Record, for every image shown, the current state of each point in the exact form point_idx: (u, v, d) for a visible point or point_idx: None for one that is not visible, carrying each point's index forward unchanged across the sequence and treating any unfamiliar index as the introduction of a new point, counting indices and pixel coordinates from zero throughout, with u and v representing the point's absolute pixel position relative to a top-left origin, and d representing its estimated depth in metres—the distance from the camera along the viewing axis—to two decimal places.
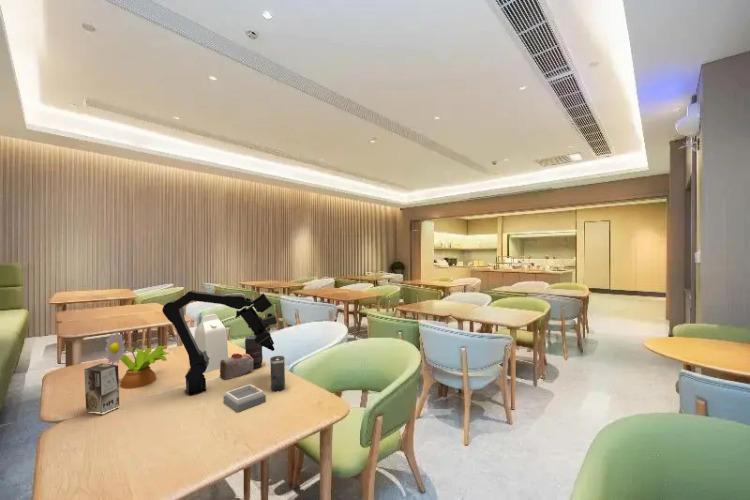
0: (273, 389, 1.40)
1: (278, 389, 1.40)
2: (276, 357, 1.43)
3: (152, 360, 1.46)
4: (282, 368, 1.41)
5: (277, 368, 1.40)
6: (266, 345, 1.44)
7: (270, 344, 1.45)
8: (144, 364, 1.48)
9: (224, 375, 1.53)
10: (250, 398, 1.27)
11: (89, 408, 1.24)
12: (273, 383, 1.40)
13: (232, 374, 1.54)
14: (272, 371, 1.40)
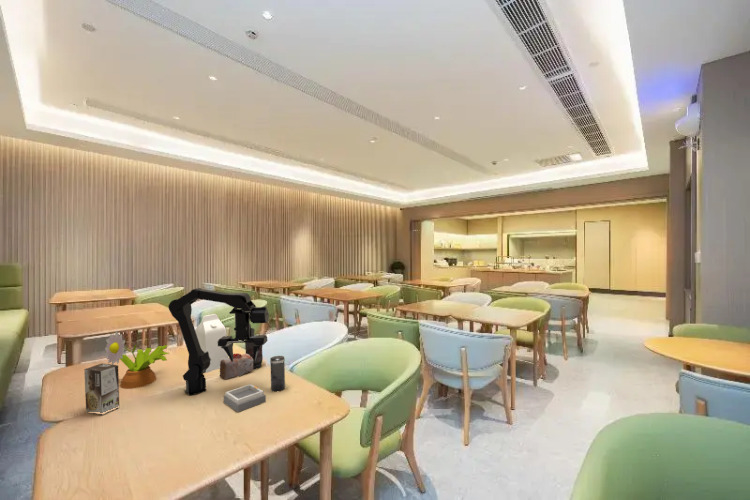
0: (273, 389, 1.40)
1: (278, 389, 1.40)
2: (276, 357, 1.43)
3: (152, 360, 1.46)
4: (282, 368, 1.41)
5: (277, 368, 1.40)
6: (256, 351, 1.41)
7: (257, 352, 1.42)
8: (144, 364, 1.48)
9: (224, 375, 1.53)
10: (250, 398, 1.27)
11: (90, 408, 1.24)
12: (273, 383, 1.40)
13: (232, 374, 1.54)
14: (272, 371, 1.40)
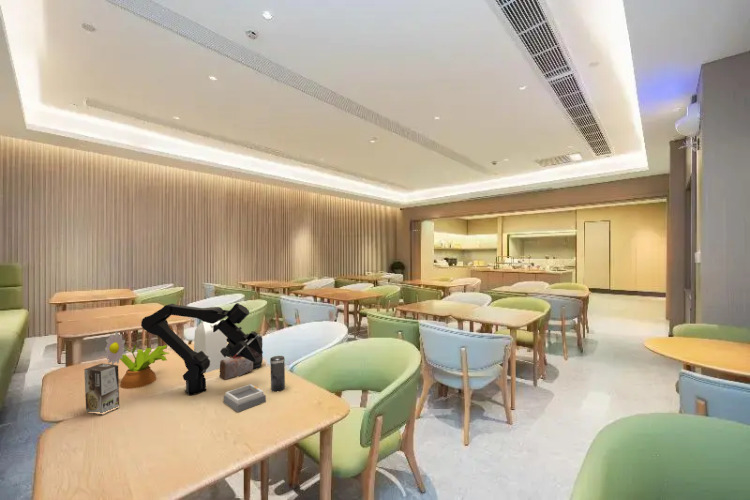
0: (273, 389, 1.40)
1: (278, 389, 1.40)
2: (276, 357, 1.43)
3: (152, 360, 1.46)
4: (282, 368, 1.41)
5: (277, 368, 1.40)
6: None
7: None
8: (144, 364, 1.48)
9: (224, 375, 1.53)
10: (250, 398, 1.27)
11: (90, 408, 1.24)
12: (273, 383, 1.40)
13: (232, 374, 1.54)
14: (272, 371, 1.40)
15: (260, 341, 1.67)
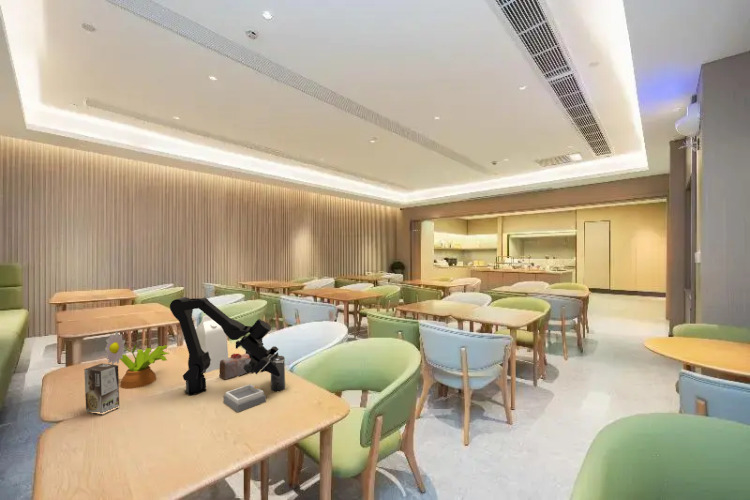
0: (273, 389, 1.40)
1: (278, 389, 1.40)
2: (276, 357, 1.43)
3: (152, 360, 1.46)
4: (282, 368, 1.41)
5: (278, 368, 1.40)
6: None
7: None
8: (144, 364, 1.48)
9: (224, 375, 1.53)
10: (250, 398, 1.27)
11: (90, 408, 1.24)
12: (273, 383, 1.40)
13: (231, 374, 1.54)
14: None
15: (260, 341, 1.67)
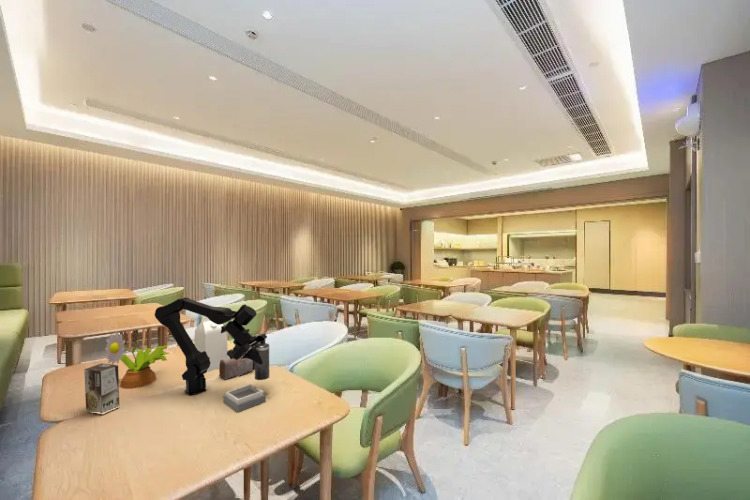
0: (256, 377, 1.35)
1: (261, 377, 1.35)
2: (261, 344, 1.38)
3: (152, 360, 1.46)
4: (265, 356, 1.36)
5: (260, 355, 1.35)
6: None
7: None
8: (144, 364, 1.48)
9: (223, 375, 1.53)
10: (250, 398, 1.27)
11: (90, 408, 1.24)
12: (256, 371, 1.35)
13: (231, 374, 1.54)
14: None
15: None
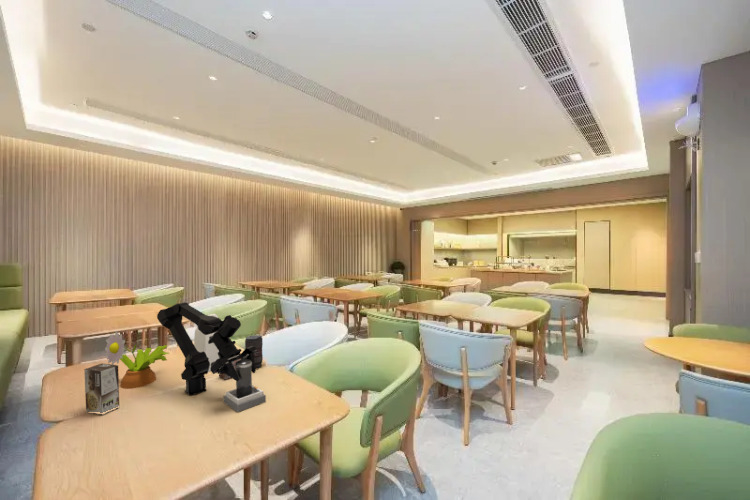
0: (236, 395, 1.29)
1: (240, 396, 1.28)
2: (243, 361, 1.31)
3: (152, 360, 1.46)
4: (245, 374, 1.28)
5: (240, 373, 1.28)
6: None
7: None
8: (144, 364, 1.48)
9: (223, 375, 1.53)
10: (250, 398, 1.27)
11: (90, 408, 1.24)
12: (236, 389, 1.29)
13: None
14: None
15: (260, 341, 1.67)
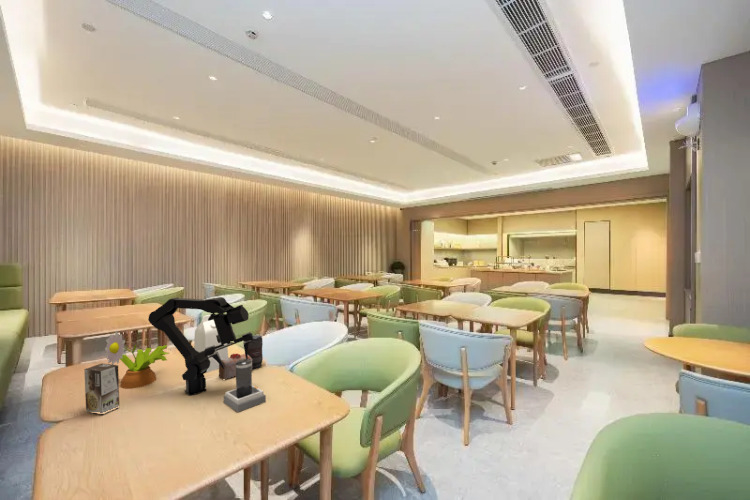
0: (236, 395, 1.29)
1: (240, 396, 1.28)
2: (243, 361, 1.31)
3: (152, 360, 1.46)
4: (245, 374, 1.28)
5: (240, 373, 1.28)
6: None
7: None
8: (144, 364, 1.48)
9: (223, 375, 1.53)
10: (250, 398, 1.27)
11: (89, 408, 1.24)
12: (236, 389, 1.29)
13: (231, 374, 1.54)
14: (236, 375, 1.29)
15: (260, 341, 1.67)
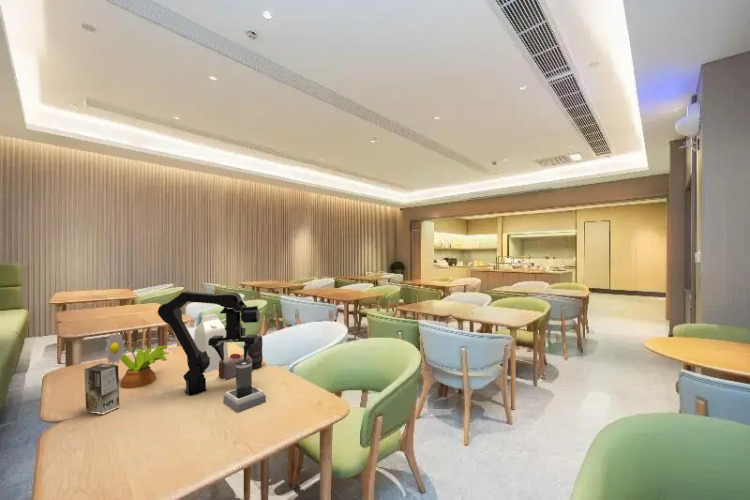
0: (236, 395, 1.29)
1: (240, 396, 1.28)
2: (243, 361, 1.31)
3: (152, 360, 1.46)
4: (245, 374, 1.28)
5: (240, 373, 1.28)
6: (247, 351, 1.42)
7: None
8: (144, 364, 1.48)
9: (223, 375, 1.53)
10: (250, 398, 1.27)
11: (90, 408, 1.24)
12: (236, 389, 1.29)
13: (231, 374, 1.54)
14: (236, 375, 1.29)
15: (260, 341, 1.67)
